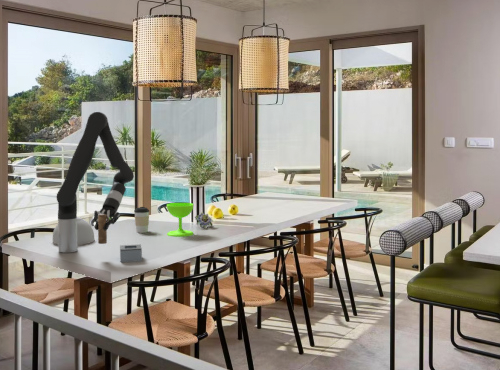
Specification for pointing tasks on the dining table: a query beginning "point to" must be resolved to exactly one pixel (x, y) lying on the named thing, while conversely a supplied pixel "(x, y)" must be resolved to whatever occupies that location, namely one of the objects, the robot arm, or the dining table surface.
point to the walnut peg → (101, 233)
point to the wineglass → (180, 217)
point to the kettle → (79, 232)
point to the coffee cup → (141, 219)
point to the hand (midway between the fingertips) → (100, 229)
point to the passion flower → (204, 220)
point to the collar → (130, 253)
